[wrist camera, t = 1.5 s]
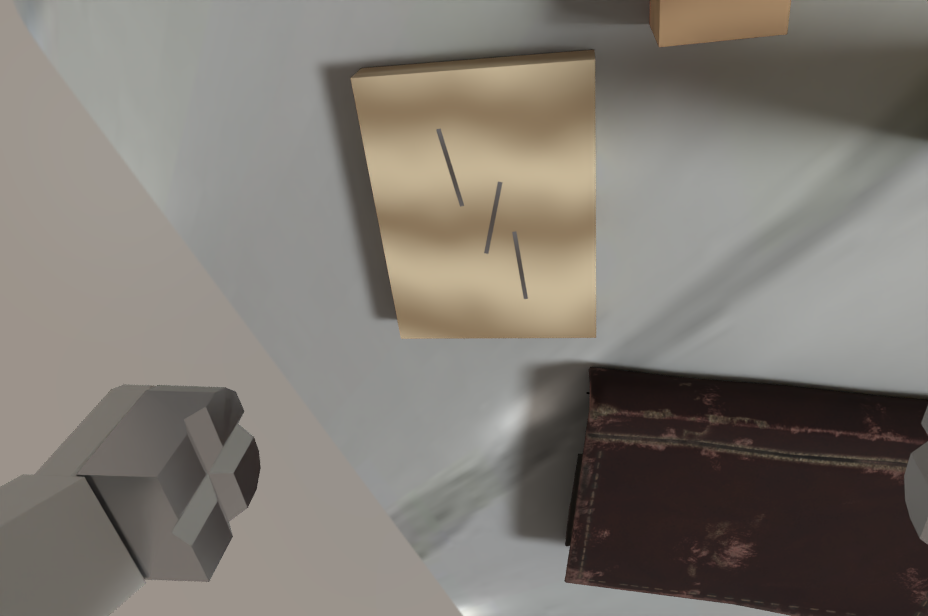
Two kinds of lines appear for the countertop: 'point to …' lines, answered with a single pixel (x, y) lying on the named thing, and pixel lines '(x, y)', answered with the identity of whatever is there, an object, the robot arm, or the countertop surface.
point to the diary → (748, 496)
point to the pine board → (485, 193)
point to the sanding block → (716, 20)
